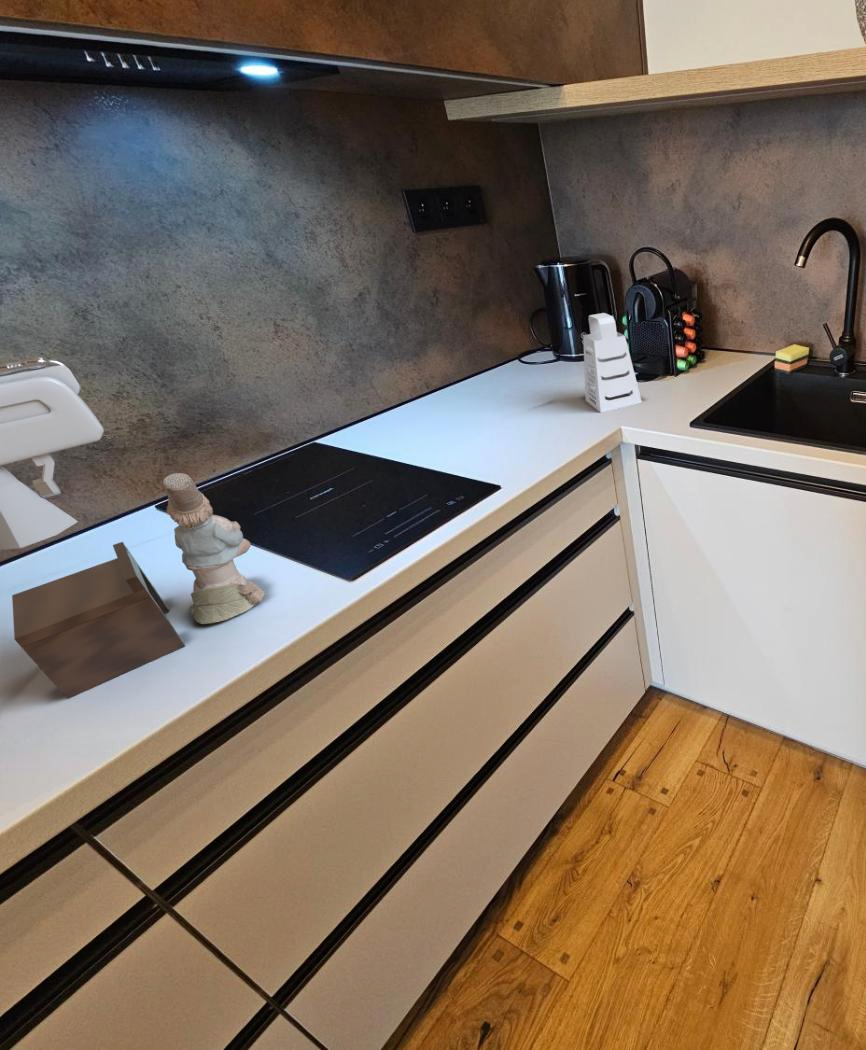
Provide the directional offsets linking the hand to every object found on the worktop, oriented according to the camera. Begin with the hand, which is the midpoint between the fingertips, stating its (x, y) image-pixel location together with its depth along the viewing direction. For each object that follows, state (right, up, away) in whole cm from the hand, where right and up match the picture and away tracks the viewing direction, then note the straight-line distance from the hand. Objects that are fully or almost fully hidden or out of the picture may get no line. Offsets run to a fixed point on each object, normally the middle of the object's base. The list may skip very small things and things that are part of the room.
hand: (11, 506), depth 62 cm
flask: (0, -3, +2) cm, 4 cm away
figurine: (+10, -13, +17) cm, 24 cm away
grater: (+53, +28, +79) cm, 99 cm away
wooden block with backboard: (+1, -17, +11) cm, 21 cm away
